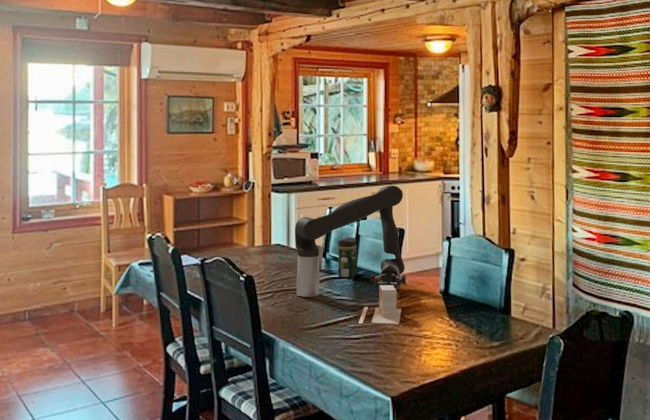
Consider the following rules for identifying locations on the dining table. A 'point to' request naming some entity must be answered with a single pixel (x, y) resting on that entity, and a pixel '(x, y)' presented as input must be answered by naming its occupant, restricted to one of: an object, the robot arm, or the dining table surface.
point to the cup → (320, 255)
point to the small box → (387, 300)
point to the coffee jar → (347, 257)
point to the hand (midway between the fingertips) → (387, 283)
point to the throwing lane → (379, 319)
